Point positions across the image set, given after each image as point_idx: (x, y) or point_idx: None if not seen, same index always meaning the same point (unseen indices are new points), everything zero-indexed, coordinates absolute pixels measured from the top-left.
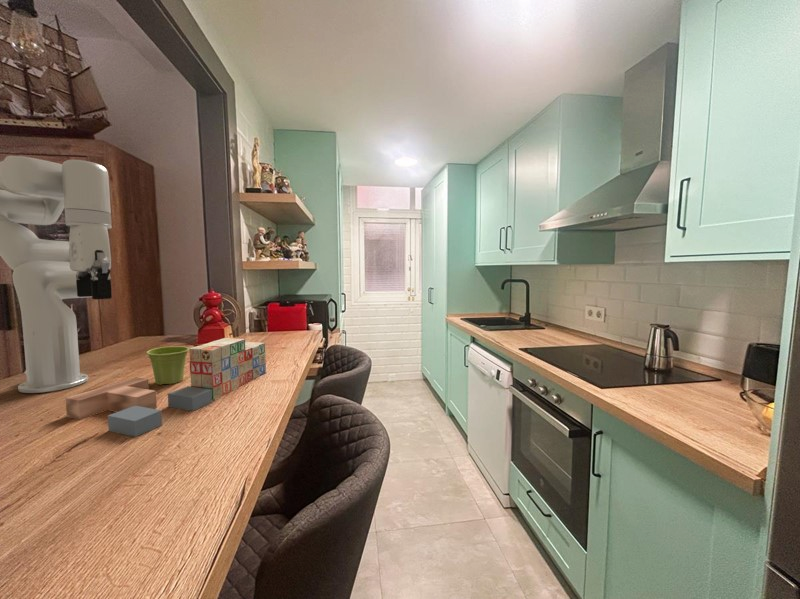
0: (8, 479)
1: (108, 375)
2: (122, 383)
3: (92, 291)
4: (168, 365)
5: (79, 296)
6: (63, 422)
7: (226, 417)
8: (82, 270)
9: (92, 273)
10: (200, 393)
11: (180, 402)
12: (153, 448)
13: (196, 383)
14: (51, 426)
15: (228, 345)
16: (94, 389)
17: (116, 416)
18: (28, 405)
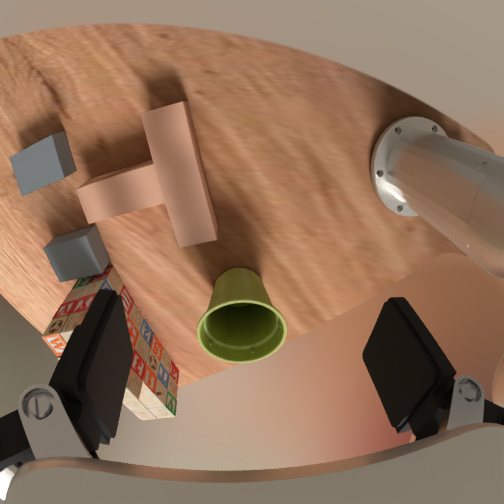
0: (30, 33)
1: (387, 242)
2: (190, 205)
3: (83, 319)
4: (210, 303)
5: (390, 300)
6: (160, 90)
7: (12, 250)
8: (74, 461)
9: (43, 441)
10: (53, 264)
11: (68, 236)
12: None
13: (93, 284)
14: (157, 74)
15: None
16: (194, 154)
17: (39, 143)
18: (326, 87)
